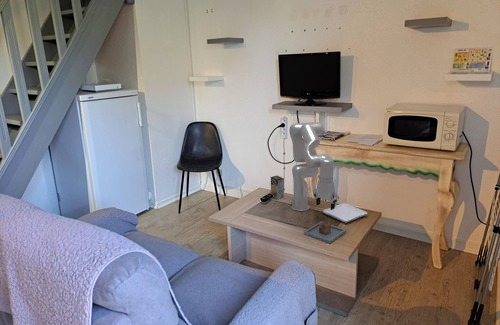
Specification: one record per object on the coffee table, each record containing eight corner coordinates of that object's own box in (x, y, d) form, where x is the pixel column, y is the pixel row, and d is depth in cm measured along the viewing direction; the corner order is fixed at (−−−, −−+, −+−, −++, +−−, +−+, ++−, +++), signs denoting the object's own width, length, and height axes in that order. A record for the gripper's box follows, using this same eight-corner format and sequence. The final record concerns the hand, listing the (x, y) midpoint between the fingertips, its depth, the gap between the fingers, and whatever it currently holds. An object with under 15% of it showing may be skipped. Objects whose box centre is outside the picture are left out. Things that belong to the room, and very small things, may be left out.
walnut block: (318, 232, 215) (319, 223, 213) (323, 229, 218) (323, 220, 216) (326, 235, 211) (326, 225, 210) (330, 232, 215) (331, 223, 213)
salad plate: (345, 226, 224) (345, 220, 223) (321, 214, 241) (321, 210, 240) (368, 217, 235) (368, 212, 234) (343, 207, 252) (343, 202, 251)
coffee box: (270, 196, 275) (270, 176, 271) (277, 194, 278) (276, 175, 274) (277, 200, 268) (277, 179, 263) (284, 198, 271) (284, 178, 266)
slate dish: (303, 234, 215) (303, 231, 214) (320, 224, 227) (320, 221, 226) (330, 243, 202) (330, 241, 202) (346, 232, 215) (346, 229, 214)
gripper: (309, 177, 209) (309, 205, 214) (336, 184, 197) (334, 213, 202) (317, 174, 214) (316, 201, 219) (343, 180, 202) (341, 208, 207)
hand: (325, 206), depth 210 cm, fingers open, 9 cm apart
